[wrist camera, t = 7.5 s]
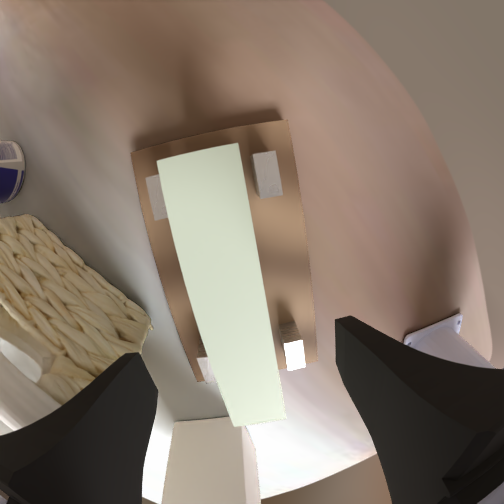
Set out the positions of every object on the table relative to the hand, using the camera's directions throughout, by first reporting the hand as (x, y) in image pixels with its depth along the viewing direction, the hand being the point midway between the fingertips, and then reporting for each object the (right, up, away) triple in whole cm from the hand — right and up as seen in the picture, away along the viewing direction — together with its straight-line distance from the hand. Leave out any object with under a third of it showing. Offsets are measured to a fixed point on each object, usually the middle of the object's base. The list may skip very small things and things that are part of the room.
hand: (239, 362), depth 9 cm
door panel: (-1, +3, +9) cm, 9 cm away
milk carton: (-3, -16, +16) cm, 23 cm away
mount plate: (-1, +3, +10) cm, 10 cm away
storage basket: (-19, -5, +11) cm, 23 cm away
